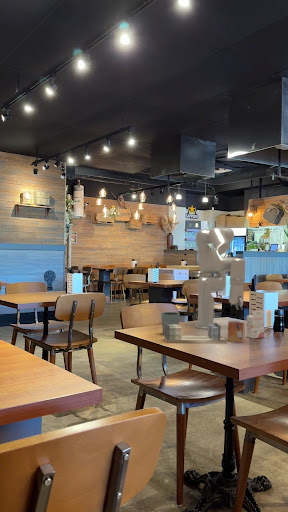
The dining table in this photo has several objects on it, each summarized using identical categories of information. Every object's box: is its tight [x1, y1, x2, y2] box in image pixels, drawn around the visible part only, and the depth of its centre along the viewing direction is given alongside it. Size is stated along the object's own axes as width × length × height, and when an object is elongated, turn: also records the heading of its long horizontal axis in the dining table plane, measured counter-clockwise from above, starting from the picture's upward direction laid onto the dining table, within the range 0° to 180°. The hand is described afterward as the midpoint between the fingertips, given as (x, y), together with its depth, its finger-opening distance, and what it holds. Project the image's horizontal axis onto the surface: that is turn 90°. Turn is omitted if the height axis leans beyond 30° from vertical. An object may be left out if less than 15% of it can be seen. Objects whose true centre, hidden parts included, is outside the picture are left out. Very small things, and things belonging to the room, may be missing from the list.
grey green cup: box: [160, 311, 181, 336], centre depth 232 cm, size 10×10×12 cm
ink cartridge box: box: [246, 310, 265, 339], centre depth 231 cm, size 9×5×15 cm, turn 117°
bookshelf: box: [163, 322, 228, 345], centre depth 216 cm, size 11×30×9 cm, turn 96°
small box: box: [227, 319, 246, 344], centre depth 219 cm, size 8×6×10 cm
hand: (236, 315), depth 220 cm, fingers open, 8 cm apart
